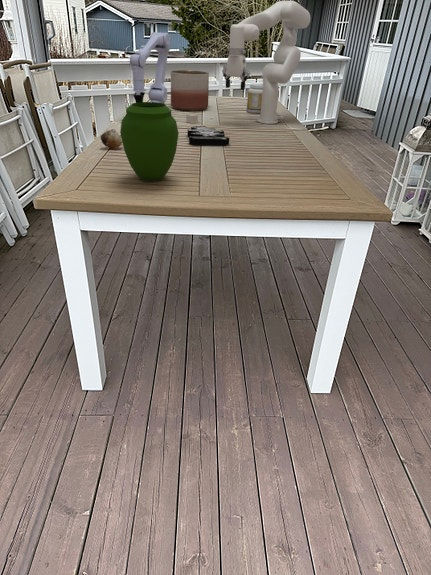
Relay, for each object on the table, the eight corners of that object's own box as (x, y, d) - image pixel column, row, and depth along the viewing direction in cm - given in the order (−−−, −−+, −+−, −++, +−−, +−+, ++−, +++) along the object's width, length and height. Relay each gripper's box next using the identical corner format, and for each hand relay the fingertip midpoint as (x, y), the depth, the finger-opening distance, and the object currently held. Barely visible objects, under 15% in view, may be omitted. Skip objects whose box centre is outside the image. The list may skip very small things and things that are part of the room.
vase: (131, 189, 135) (125, 110, 122) (118, 172, 150) (112, 100, 137) (186, 184, 142) (187, 109, 129) (169, 168, 157) (167, 99, 144)
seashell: (124, 147, 182) (123, 128, 178) (122, 150, 177) (120, 130, 173) (103, 146, 182) (101, 127, 178) (100, 149, 177) (98, 129, 173)
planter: (201, 105, 293) (202, 70, 281) (212, 111, 273) (214, 74, 261) (167, 105, 285) (166, 69, 274) (175, 111, 265) (175, 73, 253)
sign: (189, 138, 189) (185, 125, 214) (189, 145, 190) (185, 131, 216) (230, 139, 191) (221, 126, 216) (230, 145, 193) (221, 132, 218)
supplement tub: (247, 109, 285) (249, 83, 276) (264, 111, 283) (267, 84, 274) (245, 112, 274) (248, 84, 265) (264, 114, 273) (266, 86, 264)
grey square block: (192, 123, 236) (192, 115, 234) (186, 122, 238) (186, 114, 236) (197, 122, 239) (197, 114, 237) (191, 121, 241) (191, 113, 239)
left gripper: (145, 82, 213) (146, 110, 220) (146, 79, 225) (147, 105, 232) (131, 81, 212) (133, 109, 219) (133, 78, 224) (135, 105, 231)
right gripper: (254, 53, 212) (252, 89, 221) (227, 51, 220) (226, 86, 229) (246, 53, 206) (244, 91, 216) (219, 51, 215) (218, 87, 224)
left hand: (139, 107), depth 226 cm, fingers open, 7 cm apart
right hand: (235, 88), depth 223 cm, fingers open, 9 cm apart
